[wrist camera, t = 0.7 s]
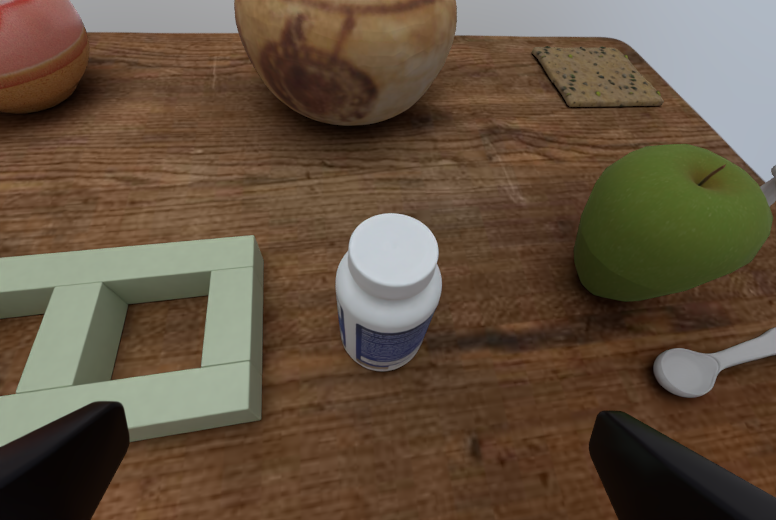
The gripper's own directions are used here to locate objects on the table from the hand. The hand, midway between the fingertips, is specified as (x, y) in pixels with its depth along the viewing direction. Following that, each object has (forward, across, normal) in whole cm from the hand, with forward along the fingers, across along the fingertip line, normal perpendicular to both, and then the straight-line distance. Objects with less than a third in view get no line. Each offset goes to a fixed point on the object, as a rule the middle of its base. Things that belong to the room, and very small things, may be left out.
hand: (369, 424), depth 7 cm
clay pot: (+37, +3, -10) cm, 38 cm away
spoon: (+15, -24, +8) cm, 29 cm away
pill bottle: (+16, -1, +7) cm, 17 cm away
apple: (+20, -17, +4) cm, 26 cm away
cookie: (+42, -26, -14) cm, 52 cm away
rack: (+14, +16, +8) cm, 23 cm away
